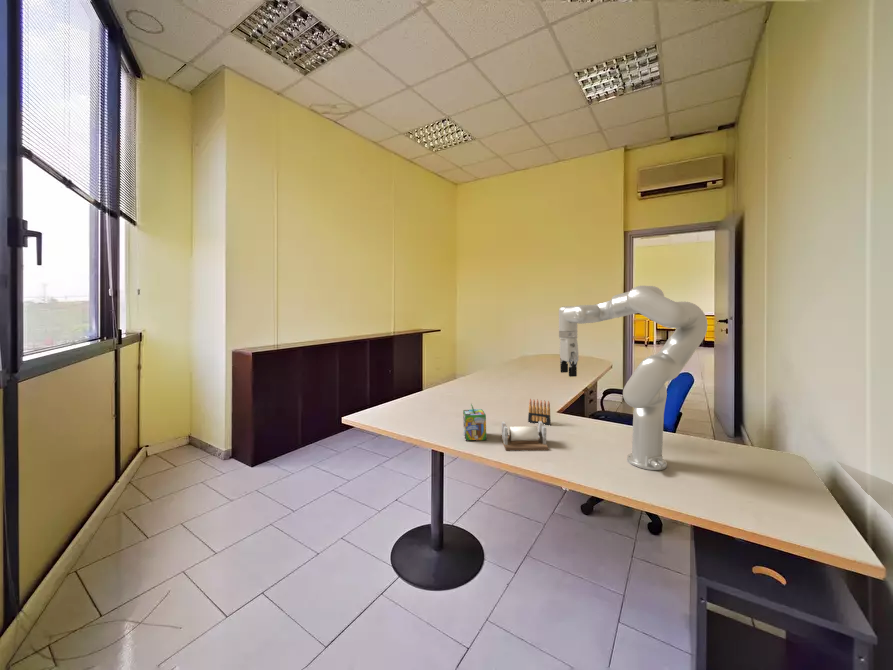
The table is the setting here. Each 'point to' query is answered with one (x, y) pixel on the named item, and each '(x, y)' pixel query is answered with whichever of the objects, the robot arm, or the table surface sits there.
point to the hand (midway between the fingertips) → (568, 374)
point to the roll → (523, 433)
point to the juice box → (474, 424)
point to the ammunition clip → (539, 412)
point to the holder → (525, 445)
